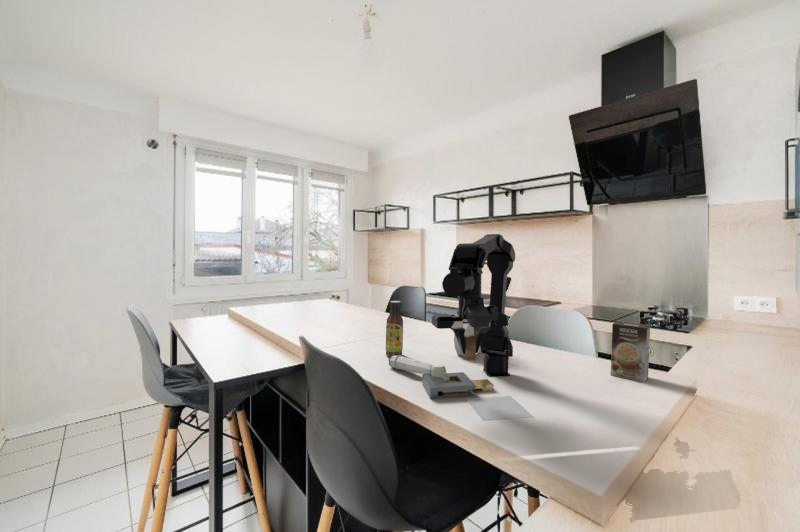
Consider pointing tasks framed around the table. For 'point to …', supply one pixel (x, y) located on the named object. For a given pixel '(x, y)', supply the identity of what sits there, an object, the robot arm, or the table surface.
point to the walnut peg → (470, 347)
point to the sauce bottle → (394, 330)
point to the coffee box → (630, 350)
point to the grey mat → (498, 408)
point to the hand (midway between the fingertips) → (469, 353)
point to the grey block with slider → (453, 386)
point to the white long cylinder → (418, 367)
